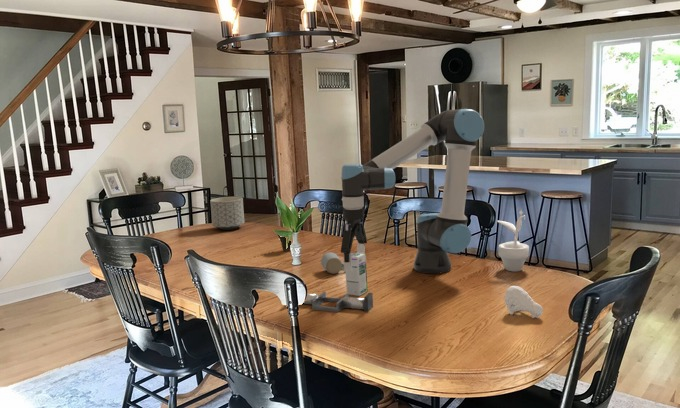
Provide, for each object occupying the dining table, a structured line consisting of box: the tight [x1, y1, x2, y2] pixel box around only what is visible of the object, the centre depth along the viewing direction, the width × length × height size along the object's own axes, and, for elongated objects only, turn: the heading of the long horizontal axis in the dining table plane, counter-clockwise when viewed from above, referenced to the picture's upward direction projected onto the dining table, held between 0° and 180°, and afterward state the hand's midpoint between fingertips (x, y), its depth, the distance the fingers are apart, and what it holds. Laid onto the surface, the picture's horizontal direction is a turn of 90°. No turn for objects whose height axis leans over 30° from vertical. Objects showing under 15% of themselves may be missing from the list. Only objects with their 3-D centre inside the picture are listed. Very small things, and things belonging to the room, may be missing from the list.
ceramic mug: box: [320, 251, 345, 275], centre depth 223 cm, size 11×8×8 cm
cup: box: [277, 234, 291, 253], centre depth 262 cm, size 9×9×10 cm
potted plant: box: [496, 208, 530, 272], centre depth 213 cm, size 13×12×25 cm
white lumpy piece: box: [503, 285, 544, 319], centre depth 167 cm, size 6×8×12 cm
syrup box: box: [345, 252, 369, 297], centre depth 195 cm, size 6×6×14 cm
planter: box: [209, 196, 246, 231], centre depth 322 cm, size 19×19×18 cm
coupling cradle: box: [303, 291, 374, 313], centre depth 183 cm, size 29×10×5 cm, turn 68°
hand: (354, 265), depth 194 cm, fingers open, 13 cm apart
